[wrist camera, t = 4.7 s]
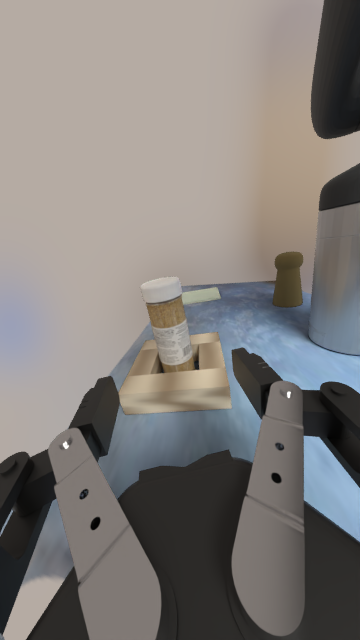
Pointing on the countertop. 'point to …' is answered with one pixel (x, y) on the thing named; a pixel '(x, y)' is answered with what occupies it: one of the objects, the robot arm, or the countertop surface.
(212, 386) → the holder block
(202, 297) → the green pad
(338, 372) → the countertop surface
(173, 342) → the sprinkles bottle
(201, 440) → the countertop surface
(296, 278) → the cork
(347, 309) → the robot arm
